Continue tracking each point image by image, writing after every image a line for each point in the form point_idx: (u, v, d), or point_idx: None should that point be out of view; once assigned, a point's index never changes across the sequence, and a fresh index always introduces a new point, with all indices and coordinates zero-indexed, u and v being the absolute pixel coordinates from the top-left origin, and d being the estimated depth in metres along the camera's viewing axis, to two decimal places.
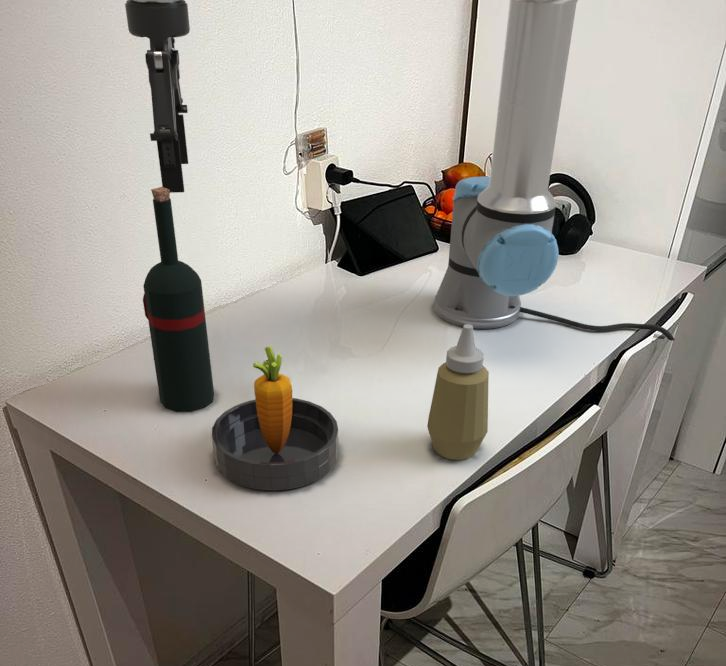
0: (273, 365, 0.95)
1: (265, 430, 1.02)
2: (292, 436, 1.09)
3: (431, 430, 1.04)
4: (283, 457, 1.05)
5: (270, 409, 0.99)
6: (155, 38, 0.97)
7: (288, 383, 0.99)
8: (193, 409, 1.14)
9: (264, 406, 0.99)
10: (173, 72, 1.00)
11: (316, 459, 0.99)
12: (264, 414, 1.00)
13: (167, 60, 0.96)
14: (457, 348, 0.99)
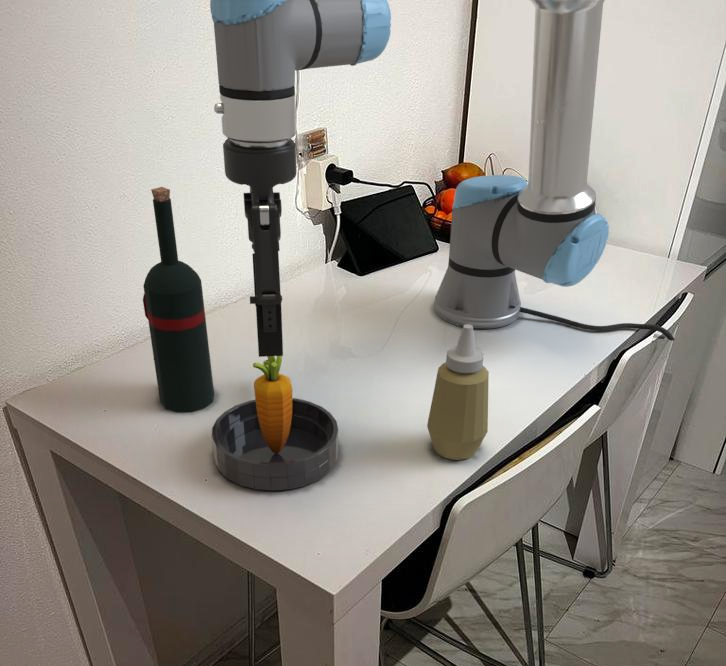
0: (273, 365, 0.95)
1: (265, 430, 1.02)
2: (292, 436, 1.09)
3: (431, 430, 1.04)
4: (283, 457, 1.05)
5: (270, 409, 0.99)
6: (259, 187, 0.81)
7: (288, 383, 0.99)
8: (193, 409, 1.14)
9: (264, 406, 0.99)
10: (277, 222, 0.84)
11: (316, 459, 0.99)
12: (264, 414, 1.00)
13: (275, 216, 0.80)
14: (457, 348, 0.99)
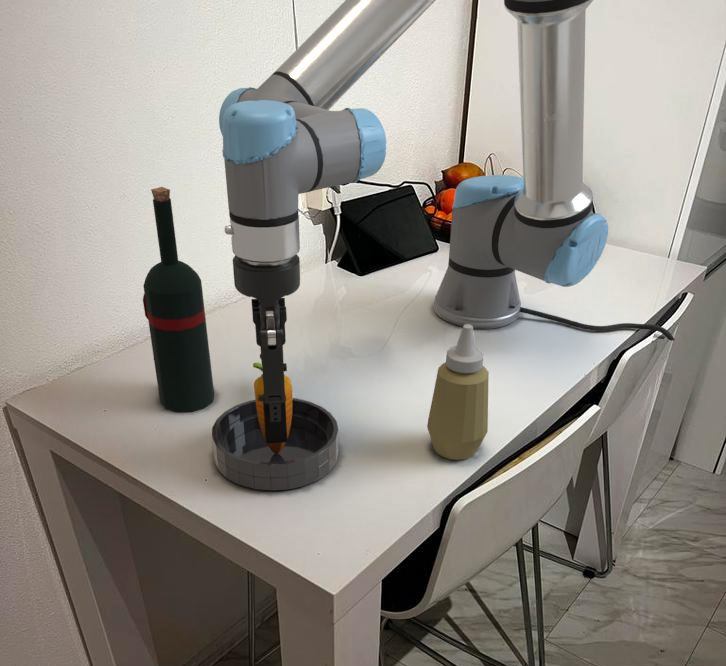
0: None
1: None
2: (292, 436, 1.09)
3: (431, 430, 1.04)
4: (283, 457, 1.05)
5: None
6: (266, 300, 0.89)
7: (288, 383, 0.99)
8: (193, 409, 1.14)
9: None
10: None
11: (316, 459, 0.99)
12: None
13: (281, 340, 0.89)
14: (457, 348, 0.99)
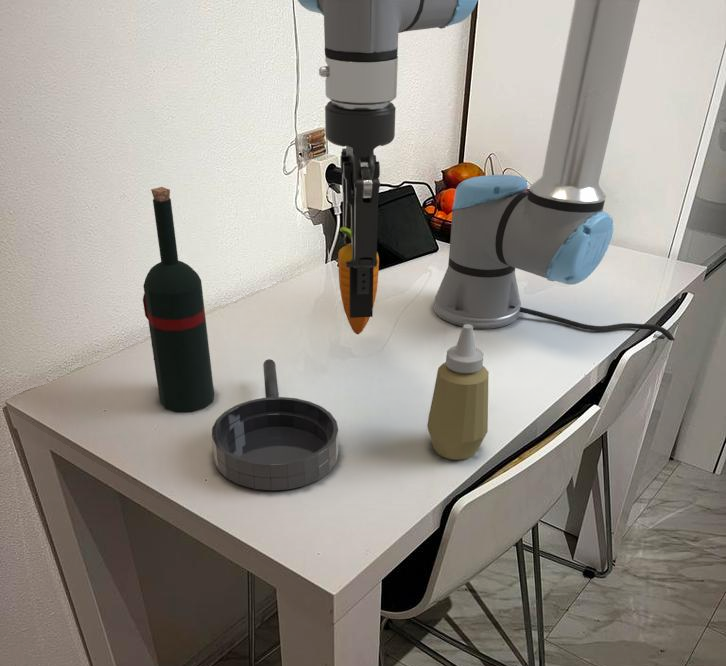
0: None
1: (348, 305, 0.97)
2: (292, 436, 1.09)
3: (431, 430, 1.04)
4: (283, 457, 1.05)
5: None
6: (361, 149, 0.84)
7: None
8: (193, 409, 1.14)
9: None
10: None
11: (316, 459, 0.99)
12: (349, 285, 0.95)
13: (377, 191, 0.84)
14: (457, 348, 0.99)
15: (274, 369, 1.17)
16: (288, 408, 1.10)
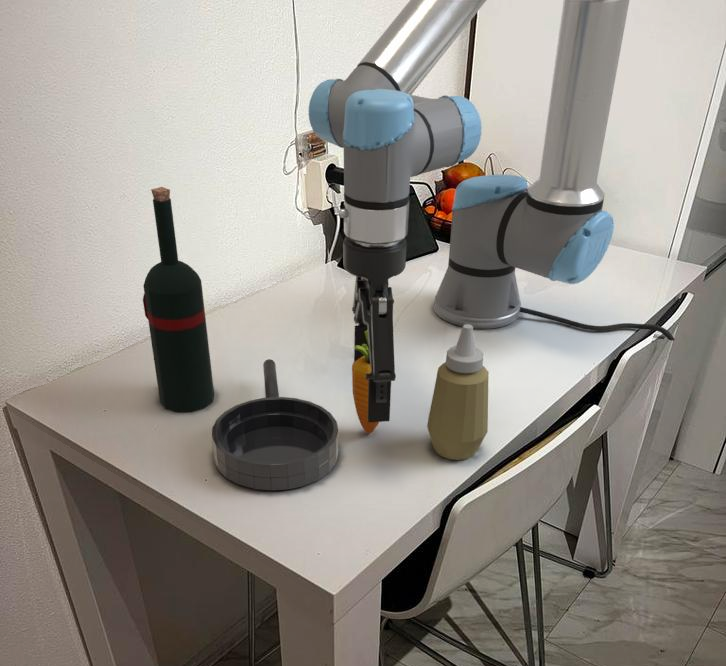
0: None
1: (361, 411, 1.07)
2: (292, 436, 1.09)
3: (431, 430, 1.04)
4: (283, 457, 1.05)
5: None
6: (376, 280, 0.93)
7: None
8: (193, 409, 1.14)
9: (363, 387, 1.04)
10: None
11: (316, 459, 0.99)
12: (362, 394, 1.05)
13: (391, 306, 0.92)
14: (457, 348, 0.99)
15: (274, 369, 1.17)
16: (288, 408, 1.10)
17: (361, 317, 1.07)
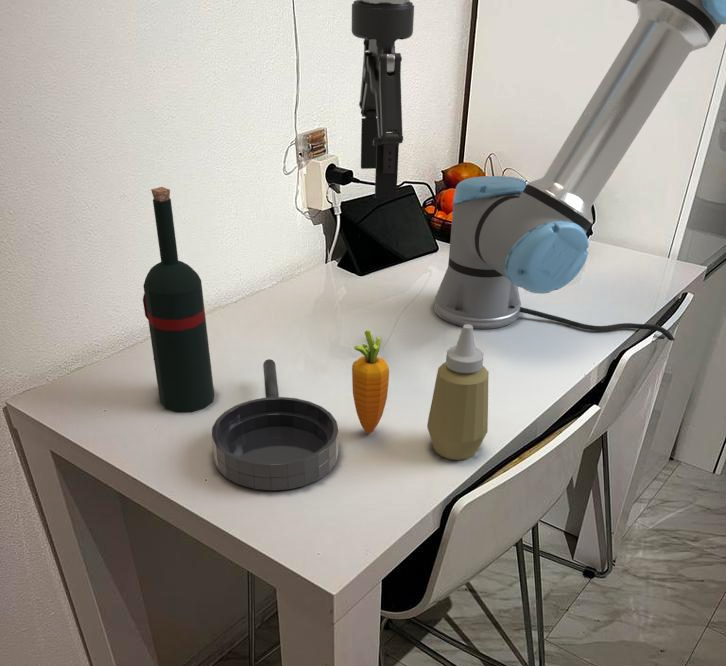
0: (375, 347, 1.00)
1: (361, 411, 1.07)
2: (292, 436, 1.09)
3: (431, 430, 1.04)
4: (283, 457, 1.05)
5: (368, 389, 1.04)
6: (384, 40, 0.95)
7: (386, 365, 1.04)
8: (193, 409, 1.14)
9: (363, 387, 1.04)
10: None
11: (316, 459, 0.99)
12: (362, 394, 1.05)
13: (399, 63, 0.94)
14: (457, 348, 0.99)
15: (274, 369, 1.17)
16: (288, 408, 1.10)
17: (368, 106, 1.08)
